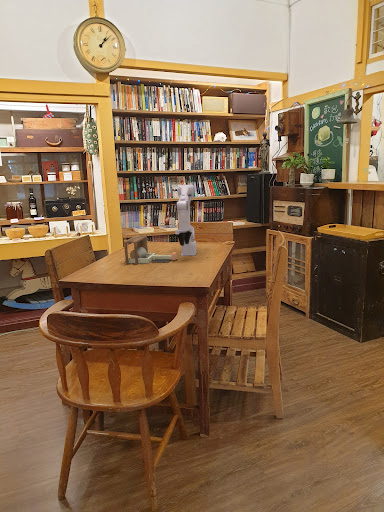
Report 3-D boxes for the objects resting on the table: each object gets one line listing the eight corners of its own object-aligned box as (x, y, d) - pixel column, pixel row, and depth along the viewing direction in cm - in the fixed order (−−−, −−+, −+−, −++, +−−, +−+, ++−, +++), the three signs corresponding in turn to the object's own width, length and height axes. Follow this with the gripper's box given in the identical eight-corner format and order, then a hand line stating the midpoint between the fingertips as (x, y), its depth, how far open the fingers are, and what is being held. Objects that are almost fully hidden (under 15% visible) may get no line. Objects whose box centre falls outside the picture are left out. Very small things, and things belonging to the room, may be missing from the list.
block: (179, 256, 224) (179, 250, 223) (173, 263, 208) (172, 256, 207) (134, 256, 229) (134, 250, 228) (125, 263, 213) (124, 256, 212)
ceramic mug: (129, 261, 218) (128, 248, 217) (137, 258, 225) (137, 246, 224) (143, 263, 213) (143, 250, 211) (151, 260, 220) (151, 247, 218)
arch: (148, 256, 230) (146, 235, 227) (137, 264, 209) (135, 241, 206) (137, 256, 231) (135, 235, 228) (125, 264, 210) (123, 241, 208)
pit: (172, 258, 222) (172, 257, 222) (168, 262, 211) (168, 262, 211) (156, 258, 224) (156, 257, 224) (151, 262, 213) (151, 262, 212)
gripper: (185, 219, 218) (185, 242, 221) (170, 222, 207) (171, 246, 209) (194, 220, 214) (195, 243, 217) (180, 223, 203) (181, 247, 205)
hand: (184, 244), depth 213 cm, fingers open, 4 cm apart
